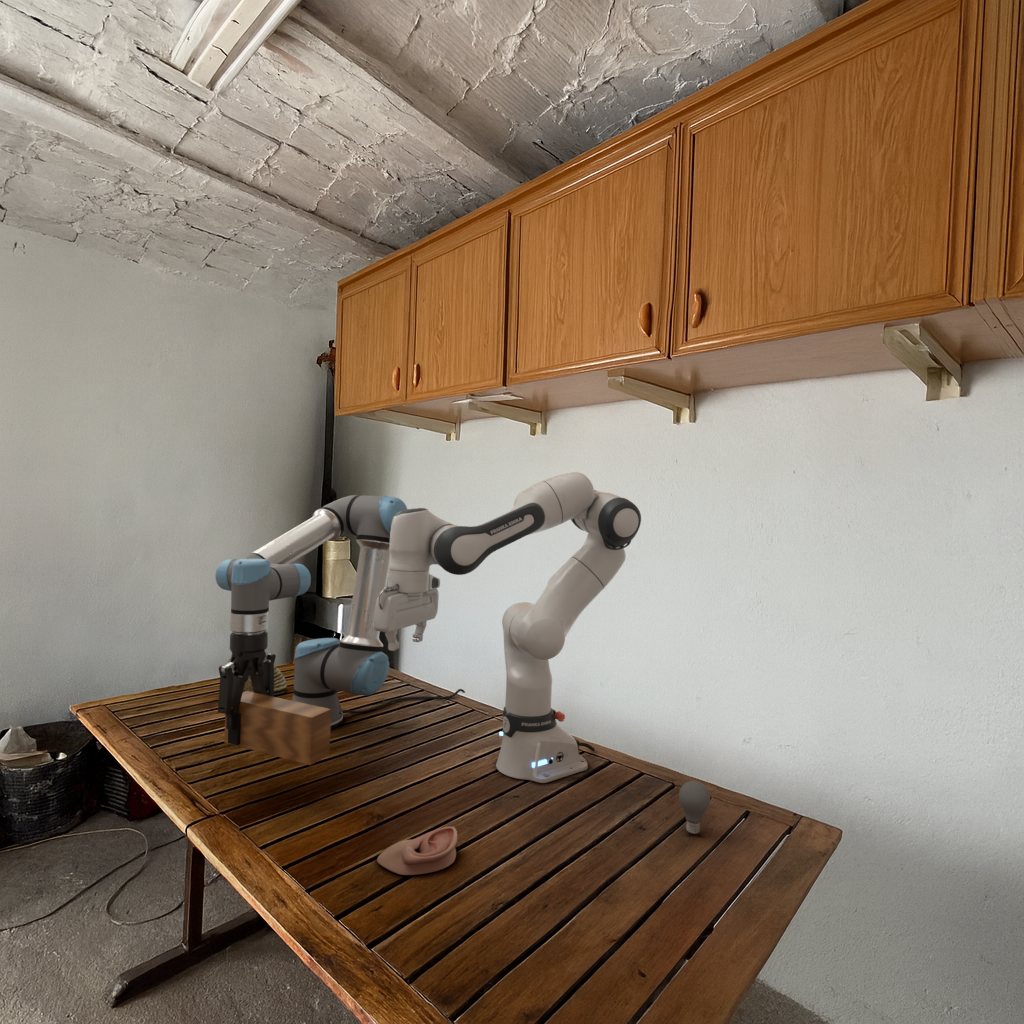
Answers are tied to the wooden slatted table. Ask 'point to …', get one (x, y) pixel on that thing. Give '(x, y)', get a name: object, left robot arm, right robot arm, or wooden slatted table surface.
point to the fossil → (278, 681)
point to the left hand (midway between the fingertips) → (245, 738)
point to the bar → (284, 728)
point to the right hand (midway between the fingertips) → (405, 645)
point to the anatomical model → (421, 853)
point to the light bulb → (694, 804)
